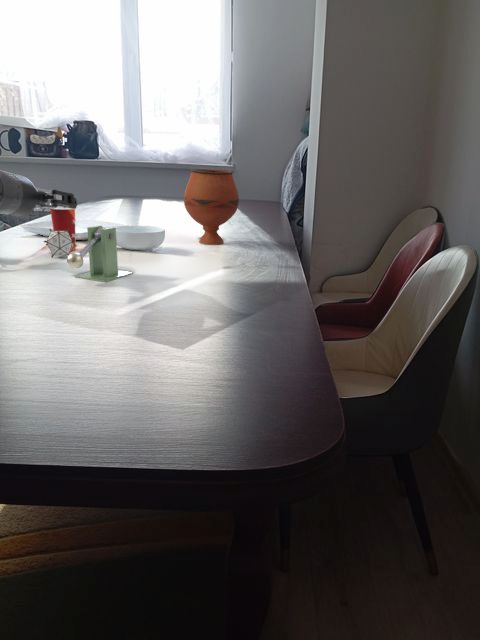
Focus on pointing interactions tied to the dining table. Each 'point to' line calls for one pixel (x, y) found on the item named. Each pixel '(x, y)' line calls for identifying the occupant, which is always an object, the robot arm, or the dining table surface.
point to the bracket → (103, 257)
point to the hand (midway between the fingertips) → (56, 203)
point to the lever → (83, 251)
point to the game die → (59, 243)
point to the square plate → (80, 227)
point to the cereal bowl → (139, 237)
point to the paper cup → (64, 221)
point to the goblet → (211, 201)
